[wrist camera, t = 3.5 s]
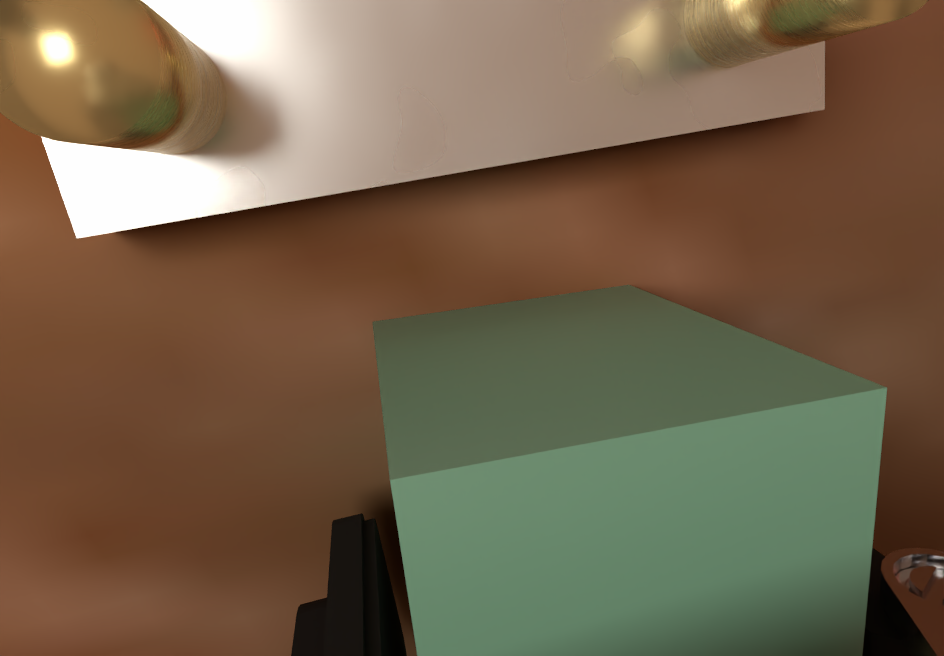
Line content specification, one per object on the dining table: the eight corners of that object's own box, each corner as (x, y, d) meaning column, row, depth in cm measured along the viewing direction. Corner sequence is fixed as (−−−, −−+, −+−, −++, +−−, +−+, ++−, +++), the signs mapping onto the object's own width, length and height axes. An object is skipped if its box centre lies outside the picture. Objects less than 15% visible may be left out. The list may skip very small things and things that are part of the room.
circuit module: (638, 654, 14) (832, 981, 8) (431, 705, 13) (486, 1105, 8) (626, 283, 12) (886, 387, 6) (372, 320, 11) (389, 480, 5)
